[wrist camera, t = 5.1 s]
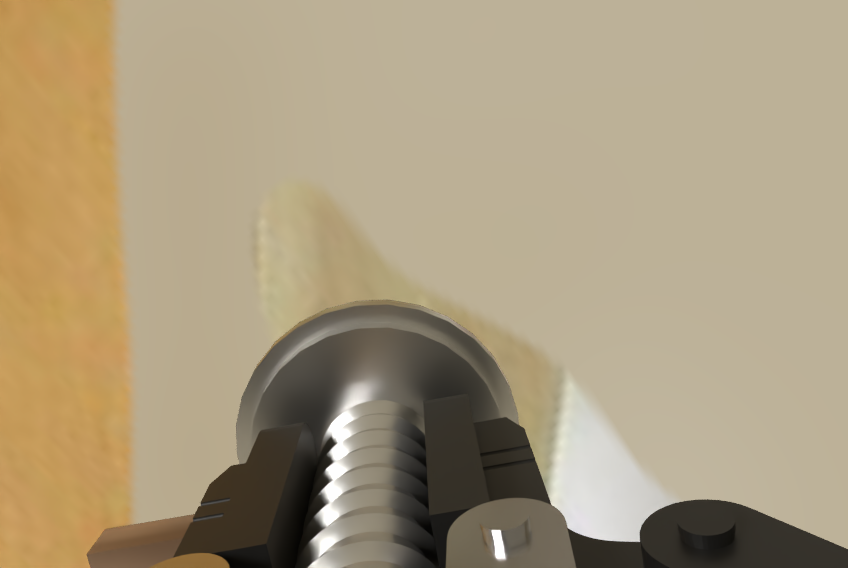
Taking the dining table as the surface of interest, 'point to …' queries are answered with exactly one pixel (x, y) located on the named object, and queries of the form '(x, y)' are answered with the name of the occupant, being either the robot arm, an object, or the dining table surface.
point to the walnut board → (139, 544)
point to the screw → (369, 422)
